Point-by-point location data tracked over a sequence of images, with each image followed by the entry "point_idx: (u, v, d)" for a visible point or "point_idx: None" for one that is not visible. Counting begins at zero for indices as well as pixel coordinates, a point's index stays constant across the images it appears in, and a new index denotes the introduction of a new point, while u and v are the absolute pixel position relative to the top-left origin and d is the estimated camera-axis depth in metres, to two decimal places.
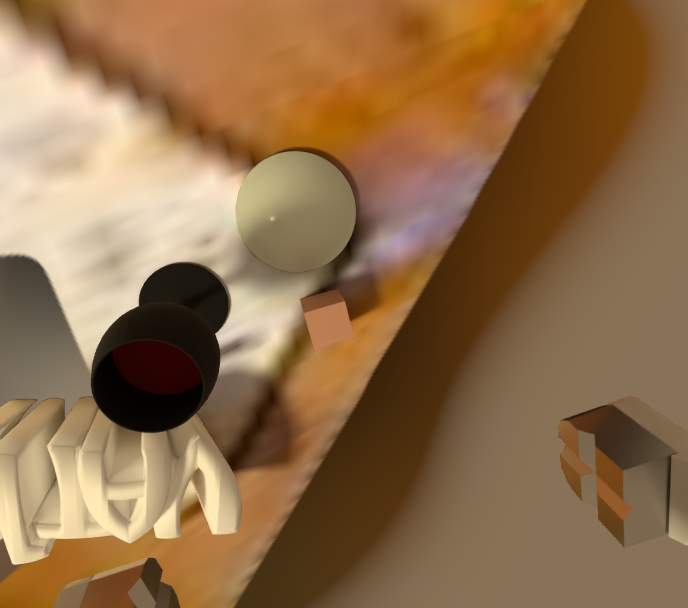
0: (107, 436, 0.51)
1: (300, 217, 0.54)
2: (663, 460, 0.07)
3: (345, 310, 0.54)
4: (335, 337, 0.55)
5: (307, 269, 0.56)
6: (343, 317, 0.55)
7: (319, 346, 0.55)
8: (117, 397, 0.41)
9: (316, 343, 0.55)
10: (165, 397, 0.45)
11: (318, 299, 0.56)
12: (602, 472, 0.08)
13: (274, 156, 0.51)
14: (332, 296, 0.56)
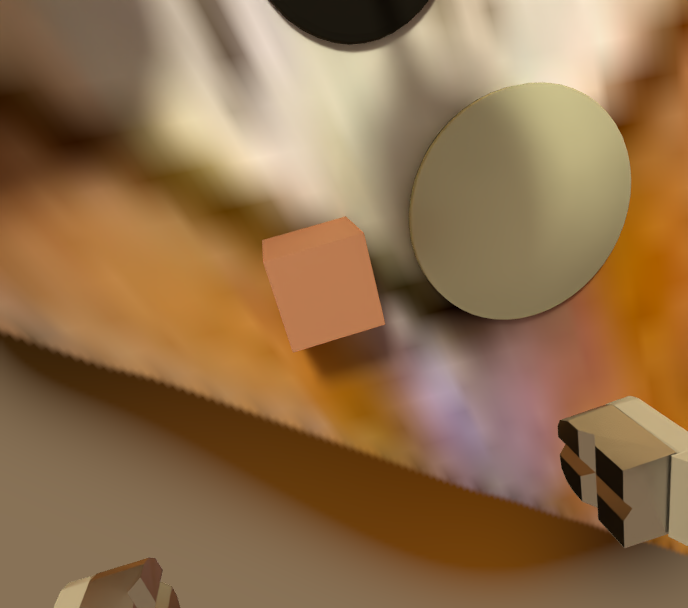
0: None
1: (519, 218, 0.28)
2: (663, 460, 0.07)
3: (362, 327, 0.24)
4: (294, 309, 0.23)
5: (417, 233, 0.27)
6: (345, 325, 0.24)
7: (273, 274, 0.22)
8: None
9: (281, 265, 0.22)
10: None
11: None
12: (602, 472, 0.08)
13: (628, 169, 0.28)
14: None
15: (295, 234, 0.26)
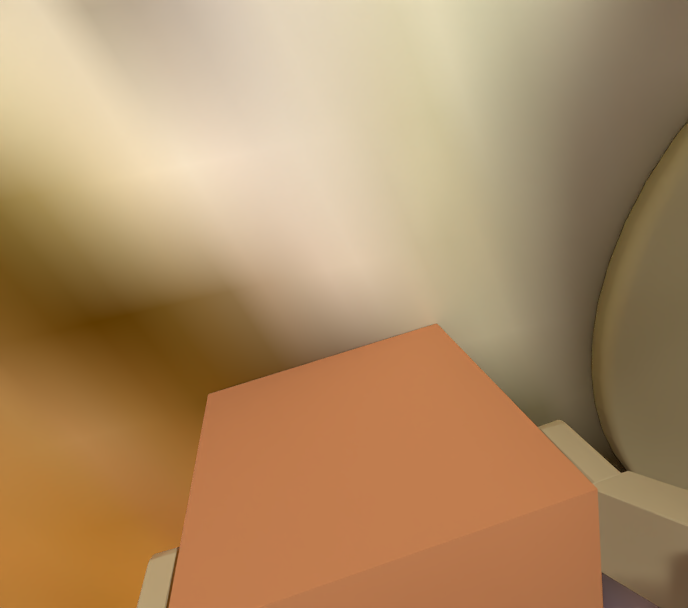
0: None
1: None
2: None
3: None
4: None
5: (625, 365, 0.10)
6: None
7: None
8: None
9: None
10: None
11: None
12: None
13: None
14: None
15: (301, 392, 0.09)
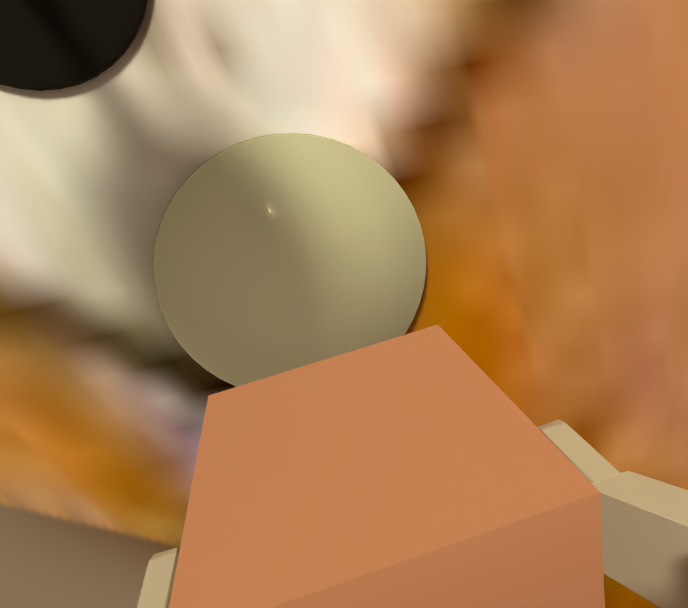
0: None
1: (290, 285, 0.24)
2: None
3: None
4: None
5: (163, 304, 0.23)
6: None
7: None
8: None
9: None
10: None
11: None
12: None
13: (418, 228, 0.24)
14: None
15: (302, 394, 0.09)
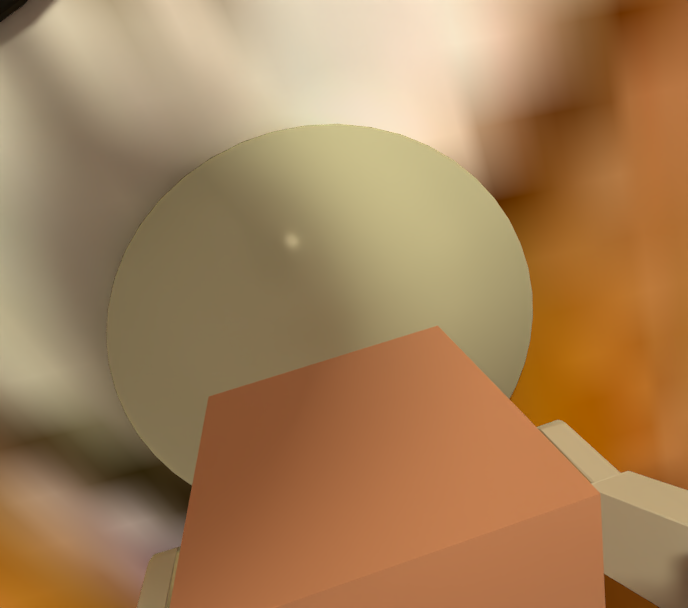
0: None
1: None
2: None
3: None
4: None
5: (125, 397, 0.14)
6: None
7: None
8: None
9: None
10: None
11: None
12: None
13: (524, 274, 0.15)
14: None
15: (302, 395, 0.09)
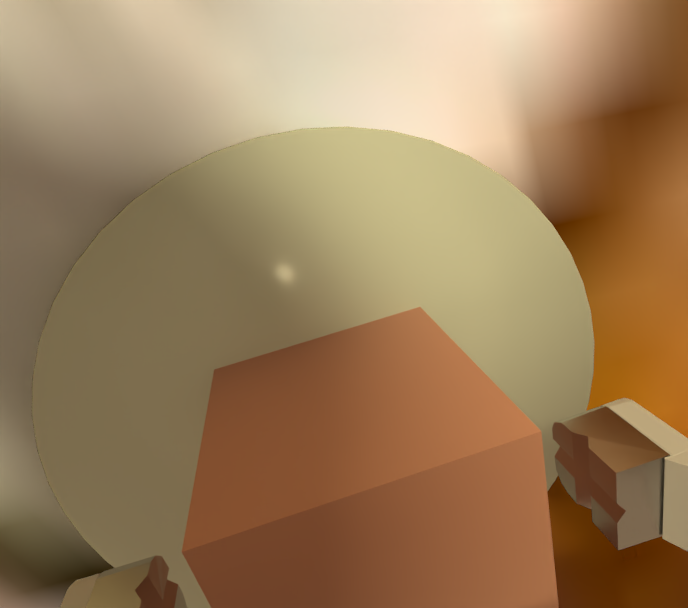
0: None
1: None
2: (656, 462, 0.07)
3: None
4: None
5: (63, 491, 0.11)
6: None
7: (223, 582, 0.06)
8: None
9: (251, 555, 0.06)
10: None
11: None
12: (596, 473, 0.08)
13: (586, 320, 0.12)
14: None
15: (297, 365, 0.10)
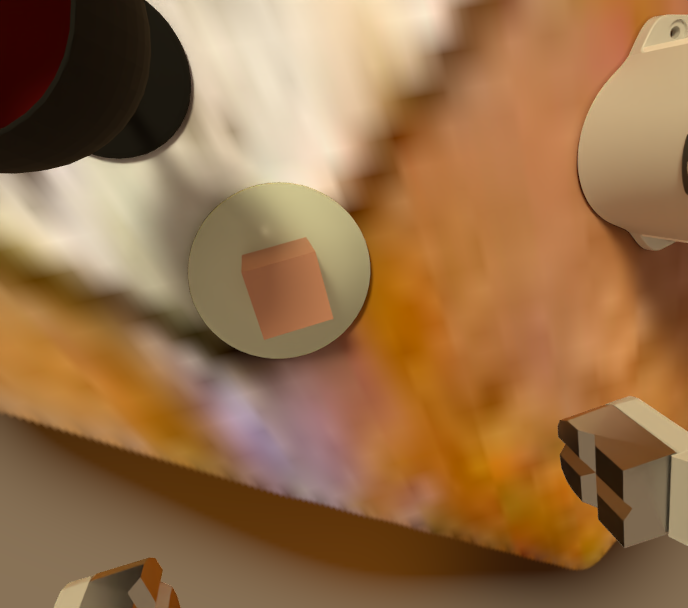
0: None
1: None
2: (663, 460, 0.07)
3: (316, 321, 0.32)
4: (265, 307, 0.31)
5: (193, 294, 0.35)
6: (303, 319, 0.32)
7: (249, 281, 0.30)
8: None
9: (254, 275, 0.30)
10: None
11: None
12: (602, 471, 0.08)
13: (364, 243, 0.36)
14: None
15: (267, 251, 0.34)
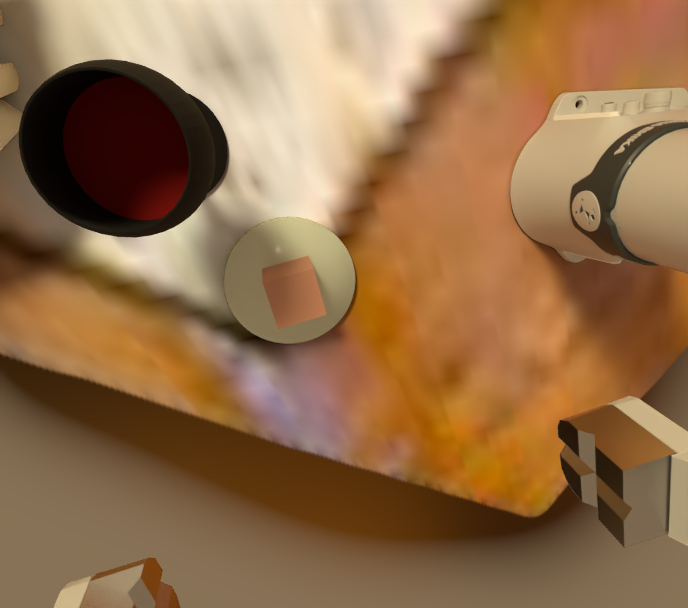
0: None
1: None
2: (663, 460, 0.07)
3: (314, 316, 0.45)
4: (278, 306, 0.44)
5: (227, 297, 0.48)
6: (305, 314, 0.45)
7: (268, 288, 0.44)
8: (63, 83, 0.27)
9: (271, 284, 0.44)
10: (59, 146, 0.30)
11: None
12: (602, 471, 0.08)
13: (350, 259, 0.49)
14: None
15: (280, 266, 0.47)
